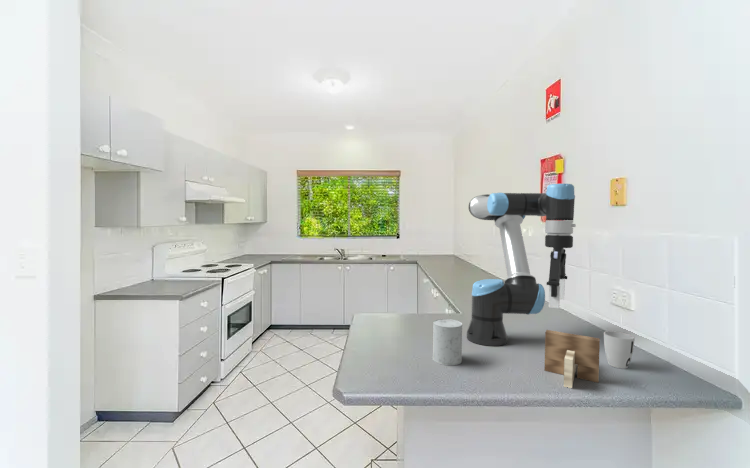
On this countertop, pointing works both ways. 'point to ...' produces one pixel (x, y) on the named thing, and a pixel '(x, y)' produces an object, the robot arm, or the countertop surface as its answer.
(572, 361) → the maple plate
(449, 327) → the grey stone cylinder
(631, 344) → the cup
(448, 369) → the countertop surface
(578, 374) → the brown wooden board
